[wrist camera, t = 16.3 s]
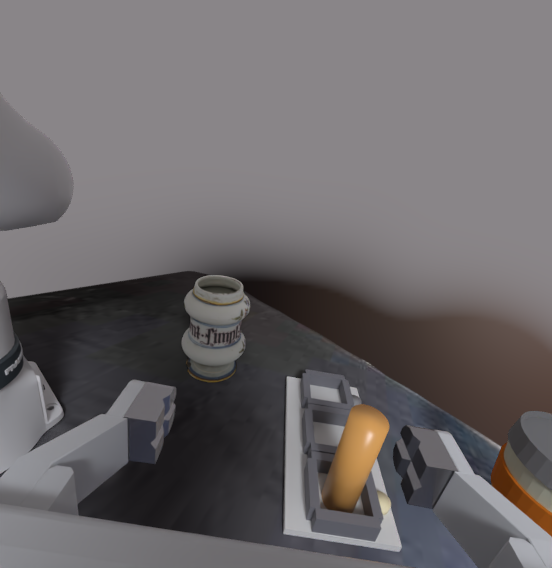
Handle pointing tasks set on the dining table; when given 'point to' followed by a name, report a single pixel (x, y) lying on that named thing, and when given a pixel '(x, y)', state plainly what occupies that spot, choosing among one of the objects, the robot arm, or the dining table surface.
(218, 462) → the dining table surface
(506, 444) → the reusable coffee cup
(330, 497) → the orange rounded cylinder
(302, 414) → the board
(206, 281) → the apothecary jar
